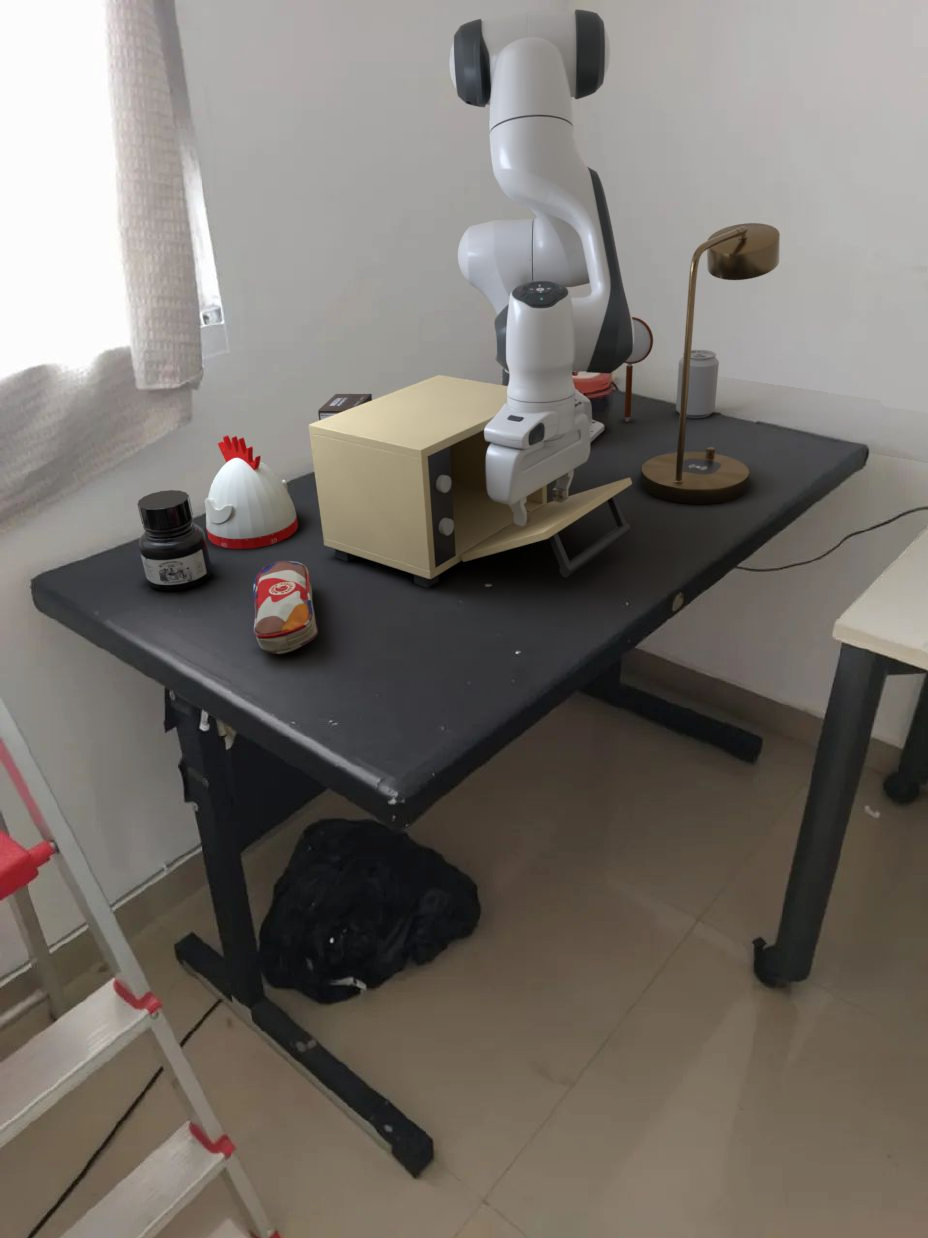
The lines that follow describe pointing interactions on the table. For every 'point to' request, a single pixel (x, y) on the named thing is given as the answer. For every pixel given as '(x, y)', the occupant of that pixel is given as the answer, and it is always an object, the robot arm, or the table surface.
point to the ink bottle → (172, 542)
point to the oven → (411, 476)
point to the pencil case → (283, 607)
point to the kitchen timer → (247, 501)
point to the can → (699, 383)
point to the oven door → (560, 527)
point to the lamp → (689, 472)
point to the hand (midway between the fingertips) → (541, 511)
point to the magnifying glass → (636, 357)
